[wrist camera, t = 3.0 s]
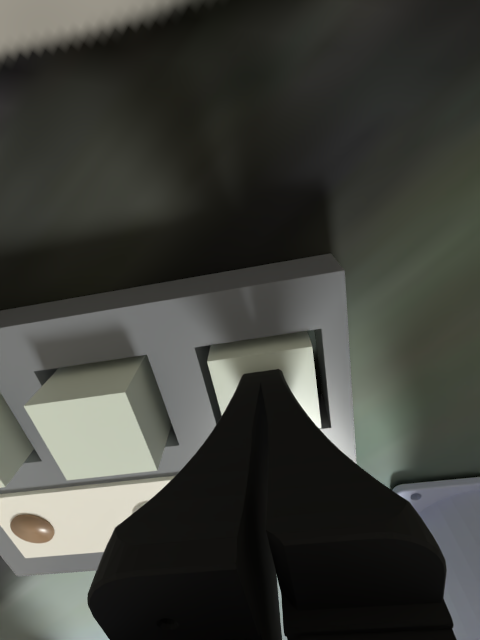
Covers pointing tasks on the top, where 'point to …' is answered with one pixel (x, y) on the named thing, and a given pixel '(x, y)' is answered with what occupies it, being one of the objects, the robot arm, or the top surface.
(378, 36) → the top surface
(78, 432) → the middle button
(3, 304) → the top surface
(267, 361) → the right button
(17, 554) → the button board
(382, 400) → the top surface
